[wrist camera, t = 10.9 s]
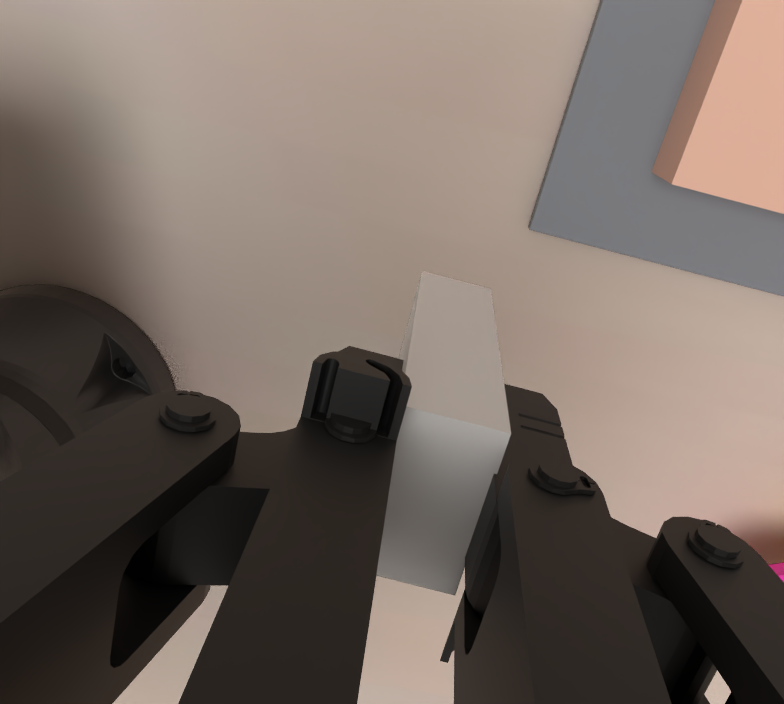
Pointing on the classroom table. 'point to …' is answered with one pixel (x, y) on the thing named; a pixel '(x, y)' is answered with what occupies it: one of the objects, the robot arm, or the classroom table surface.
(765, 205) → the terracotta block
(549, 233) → the slate mat
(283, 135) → the classroom table surface
